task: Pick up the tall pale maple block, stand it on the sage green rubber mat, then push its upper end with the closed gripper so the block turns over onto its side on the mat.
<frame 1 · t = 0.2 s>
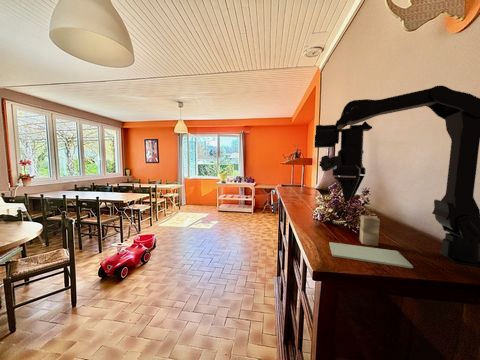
hand: (349, 199, 60), 14 cm above the table, tool pointing down, fingers open, 9 cm apart
maple block: (368, 242, 61), on the table
sage mat: (365, 254, 53), on the table
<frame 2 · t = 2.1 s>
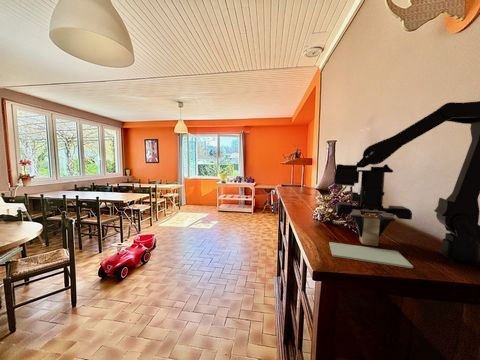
hand: (368, 237, 61), 2 cm above the table, tool pointing down, fingers closed on maple block, 4 cm apart
maple block: (368, 242, 61), on the table, touching gripper
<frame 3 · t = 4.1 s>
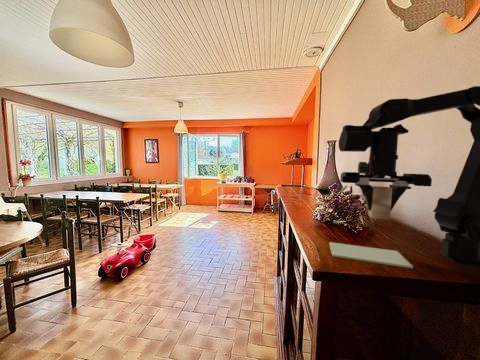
hand: (378, 210, 53), 12 cm above the table, tool pointing down, fingers closed on maple block, 4 cm apart
maple block: (378, 217, 53), point 10 cm above the table, touching gripper
when the fingers open (4 cm above the table, at t = 6.0 s): maple block drops 1 cm, resting on sage mat.
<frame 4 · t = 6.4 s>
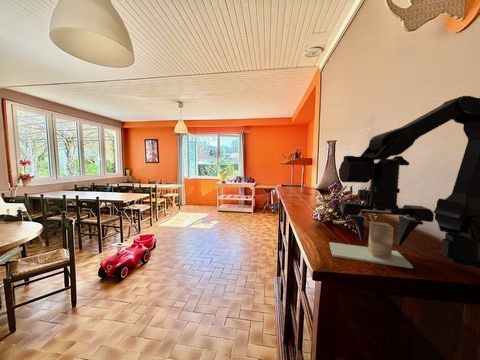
hand: (379, 242, 52), 4 cm above the table, tool pointing down, fingers open, 8 cm apart
maple block: (379, 254, 52), resting on sage mat
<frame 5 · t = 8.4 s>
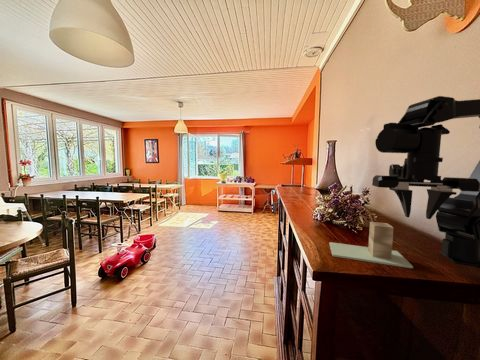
hand: (417, 217, 49), 11 cm above the table, tool pointing down, fingers open, 4 cm apart
nothing on the table moved.
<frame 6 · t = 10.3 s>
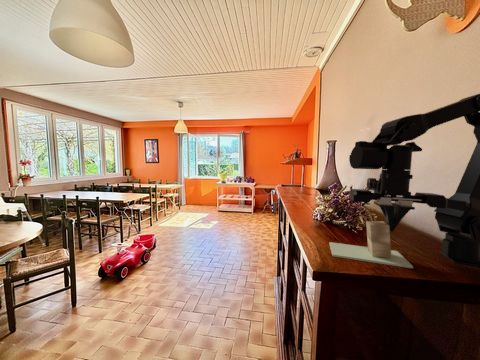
hand: (390, 231, 51), 7 cm above the table, tool pointing down, fingers closed
maple block: (379, 253, 52), point 1 cm above the table, tilted 7°, touching gripper, sage mat
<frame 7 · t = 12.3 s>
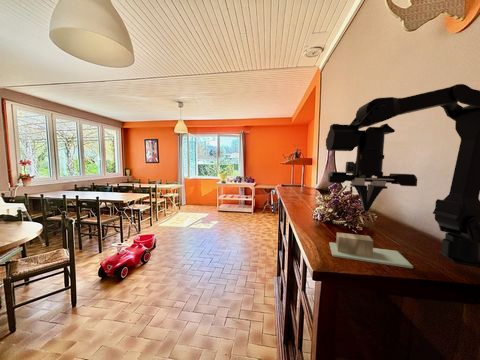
hand: (365, 211, 52), 12 cm above the table, tool pointing down, fingers closed
maple block: (370, 245, 53), point 2 cm above the table, tilted 90°, touching sage mat
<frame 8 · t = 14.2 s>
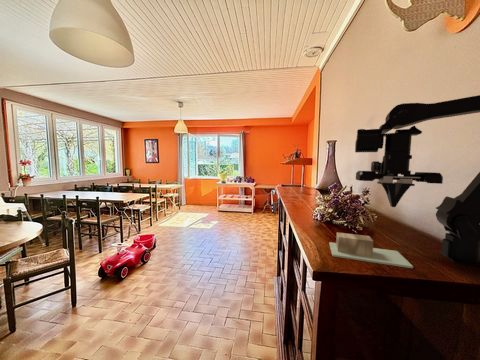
hand: (392, 206, 57), 12 cm above the table, tool pointing down, fingers closed
nothing on the table moved.
at the end: maple block tilted 90°; maple block inside the target area on the sage mat (1.2 cm from its centre), point 2.5 cm above the sage mat's base; the gripper is holding nothing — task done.
